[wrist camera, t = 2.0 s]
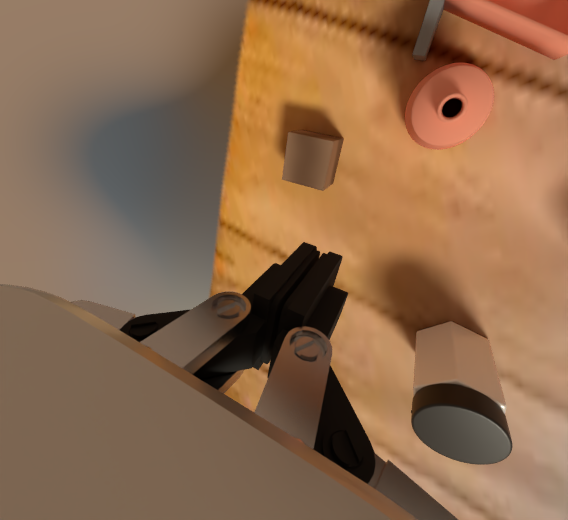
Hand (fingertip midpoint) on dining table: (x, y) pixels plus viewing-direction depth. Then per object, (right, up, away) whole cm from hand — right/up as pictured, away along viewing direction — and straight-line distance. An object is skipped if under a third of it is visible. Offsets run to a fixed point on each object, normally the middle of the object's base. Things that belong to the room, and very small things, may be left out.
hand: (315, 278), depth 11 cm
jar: (+21, -11, +24) cm, 33 cm away
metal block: (+3, +13, +20) cm, 24 cm away
